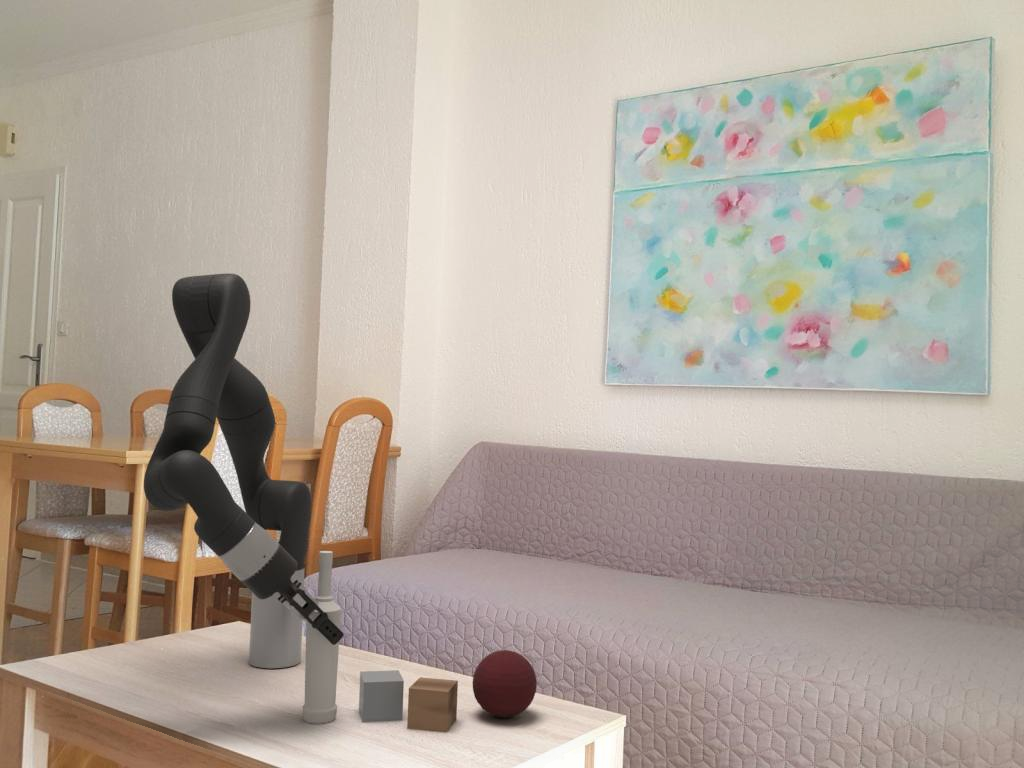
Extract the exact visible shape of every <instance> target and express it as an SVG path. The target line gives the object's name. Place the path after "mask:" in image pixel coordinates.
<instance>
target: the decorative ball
mask: <svg viewBox="0 0 1024 768" xmlns="http://www.w3.org/2000/svg"><path fill="white" fill-rule="evenodd" d="M472 676H473V678H472V692H473V695H474V698H475V700H476V702H477V704H478V705H479V706H480V707H481V709H482V710H483V711H485V712H487V714H489V715H491V716H493V717H497V718H502V719H503V718H504V719H507V718H512V717H516V716H518V715H520V714H522V713H523V712H524V711H526V709H528V708H529V706H531V704H532V702H533V700H534V699H535V695H536V692H537V686H538V685H537V684H538V683H537V682H538V681H537V676H536V672H535V670H534V667H533V665H532V664H531V663H530V661H529V660H528V659H527V658H526V657H525V656H524V655H522V654H520V653H518V652H516V651H513V650H508V649H504V650H496V651H493V652H492V653H490V654H488V655H486V656H485V657H484V658H483V659H481V660H480V662H479V663H478V665H477V667H476V668H475V671H474V674H473V675H472Z"/></svg>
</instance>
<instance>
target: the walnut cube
mask: <svg viewBox="0 0 1024 768" xmlns="http://www.w3.org/2000/svg"><path fill="white" fill-rule="evenodd" d="M458 684H459V681H458V680H455V679H454V680H453V679H446V678H445V679H442V678H433V677H432V678H431V677H422V676H421V677H419V678H417V680H415V681H414V682H413V683H412V684H411V686H409V688H408V699H407V700H408V701H407V721H406V722H407V727H406V729H407V730H414V731H415V730H416V731H417V730H418V731H425V732H427V731H428V732H437V733H445V734H447V733H448V731H449V730H450V729H451V727H452V726H453V725H454V723H456V721H457V719H458V718H457V713H458V712H457V711H458V690H459V689H458V686H459V685H458Z"/></svg>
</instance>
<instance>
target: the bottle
mask: <svg viewBox="0 0 1024 768" xmlns="http://www.w3.org/2000/svg"><path fill="white" fill-rule="evenodd" d="M333 553H334V552H333V551H331V550H321V551H319V555H318V557H319V558H318V578H317V579H318V585H317V595H316V596H315V597H314V599H315V600H317V602H318V603H319V608H320V609H321V610H322V611H323V612H324V613H325V612H326V613H327V614H328V615H327V616H328V618H329V619H330V620H331V621H332V622H333V623H334V624H335V625H336V626H337V627H338V628H339V629H340V630H341V618H342V617H341V616H342V615H341V614H342V607H341V606H340V605H339V604H338V603H337V602H336V601H335V600H334V597H333V596H332V579H333V578H332V575H333V561H334V560H333V558H334V557H333V556H334V554H333ZM319 614H320V613H319V612H318V611H316V610H315V611H314V612H313V613H312V614H311V615H310V616H309V618H310V619H311V620H312V621H314V620H315V619H316V618H317V617H318V616H319ZM305 622H306V623H305V655H304V656H305V660H304V661H305V662H304V663H305V665H304V669H305V670H304V704H303V705H302V718H303V719H302V720H303V721H304V722H306V723H309V724H317V725H319V724H328V723H330V722H333V721H335V720H336V718H337V712H338V711H337V710H338V705H337V704H336V699H337V683H338V668H339V650H340V647H339V646H340V641H339V642H338V643H337V644H335V645H333V644H331V643H330V642H329V641H328V640H327V639H326V638H325V637H324V636H323V635H322V634H321V633H320V632H319V631H318V630H316V629H314V628H313V627H312V625H311V624H310V623H309V622H308V621H307V620H306V621H305Z"/></svg>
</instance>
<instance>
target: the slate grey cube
mask: <svg viewBox="0 0 1024 768" xmlns="http://www.w3.org/2000/svg"><path fill="white" fill-rule="evenodd" d="M359 672H360V673H359V697H358V712H359V716H360V719H361V722H362V723H378V722H397V721H398V722H400V721H402V722H403V713H404V712H403V711H404V710H403V709H404V708H403V707H404V686H405V685H404V682H405V680H404V678H403V677H402V674H401V672H400V670H398V669H397V670H396V669H394V670H392V669H391V670H371V671H370V670H369V671H368V670H367V671H366V670H365V671H359Z"/></svg>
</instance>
